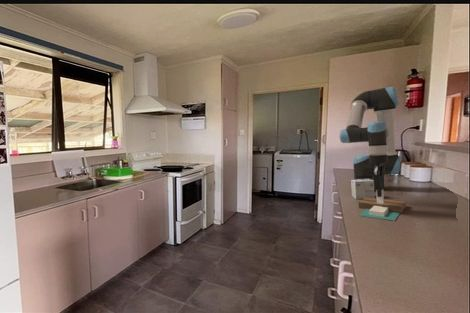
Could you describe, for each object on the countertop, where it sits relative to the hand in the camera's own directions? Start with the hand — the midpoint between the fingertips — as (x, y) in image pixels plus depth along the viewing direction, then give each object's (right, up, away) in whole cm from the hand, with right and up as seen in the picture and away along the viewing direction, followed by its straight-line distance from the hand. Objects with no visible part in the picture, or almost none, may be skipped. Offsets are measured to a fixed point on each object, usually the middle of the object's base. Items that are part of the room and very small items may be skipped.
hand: (380, 202), depth 112 cm
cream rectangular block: (-2, -4, -3) cm, 6 cm away
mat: (-3, -5, -4) cm, 7 cm away
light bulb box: (+6, -2, +26) cm, 27 cm away
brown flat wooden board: (+4, -3, +6) cm, 8 cm away
